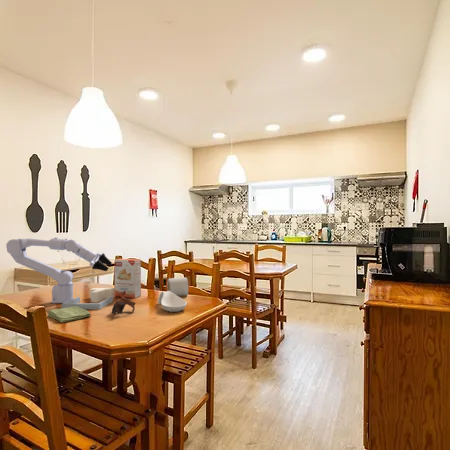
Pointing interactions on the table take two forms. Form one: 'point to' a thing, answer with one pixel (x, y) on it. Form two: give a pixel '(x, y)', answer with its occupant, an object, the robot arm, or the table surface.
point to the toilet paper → (178, 286)
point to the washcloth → (68, 314)
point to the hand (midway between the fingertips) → (109, 267)
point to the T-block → (101, 294)
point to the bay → (86, 304)
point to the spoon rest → (171, 302)
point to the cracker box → (128, 278)
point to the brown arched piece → (122, 305)
